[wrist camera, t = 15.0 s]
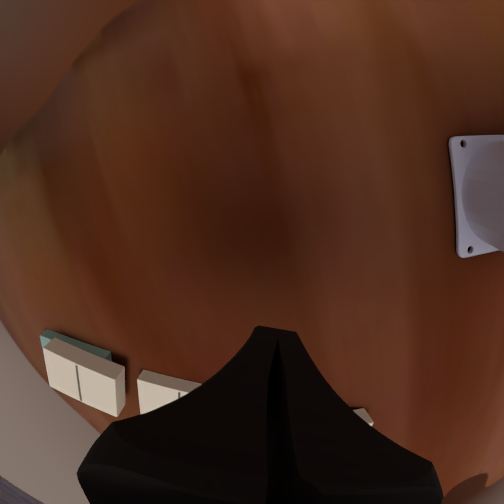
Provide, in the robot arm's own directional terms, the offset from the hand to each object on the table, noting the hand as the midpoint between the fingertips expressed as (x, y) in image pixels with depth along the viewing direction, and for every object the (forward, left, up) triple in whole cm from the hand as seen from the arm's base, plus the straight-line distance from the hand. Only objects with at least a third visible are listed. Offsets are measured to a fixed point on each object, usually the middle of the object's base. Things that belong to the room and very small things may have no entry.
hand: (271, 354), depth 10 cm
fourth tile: (+14, +9, -8) cm, 18 cm away
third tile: (+6, +12, -10) cm, 17 cm away
